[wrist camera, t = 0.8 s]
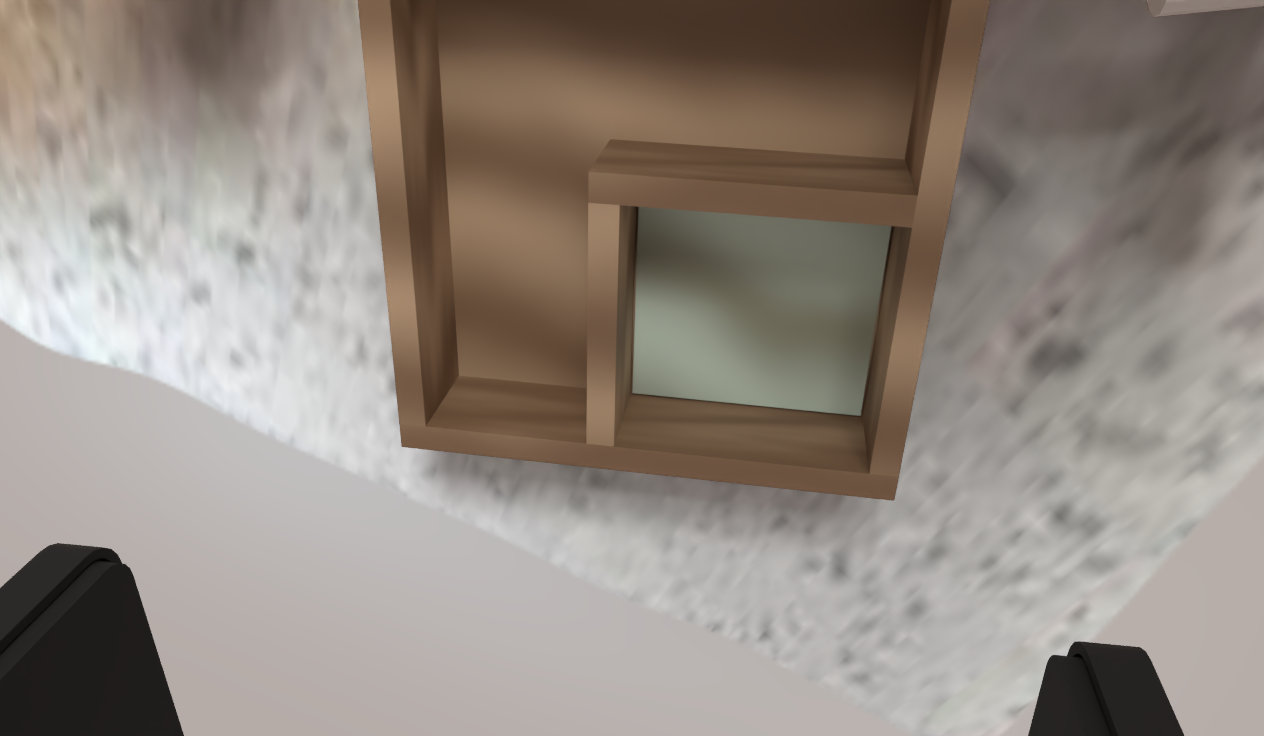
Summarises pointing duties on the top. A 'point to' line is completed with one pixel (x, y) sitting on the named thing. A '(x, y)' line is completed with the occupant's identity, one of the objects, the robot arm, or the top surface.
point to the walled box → (667, 227)
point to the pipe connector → (1197, 6)
